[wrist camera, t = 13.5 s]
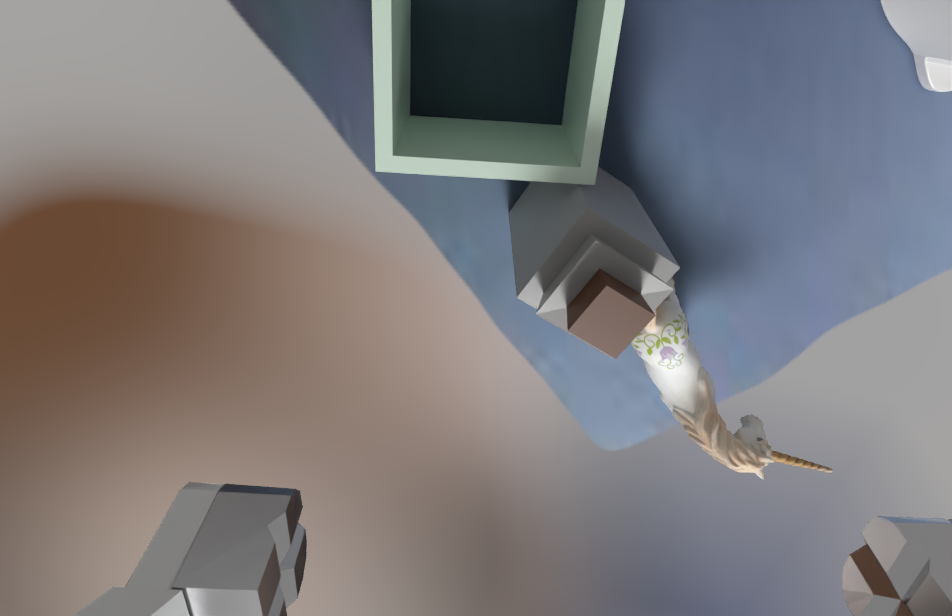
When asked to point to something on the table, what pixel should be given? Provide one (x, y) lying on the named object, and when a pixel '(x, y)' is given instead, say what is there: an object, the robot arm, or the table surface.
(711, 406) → the unicorn figurine
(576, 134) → the mint green open box
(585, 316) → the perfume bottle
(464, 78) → the table surface
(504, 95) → the table surface
